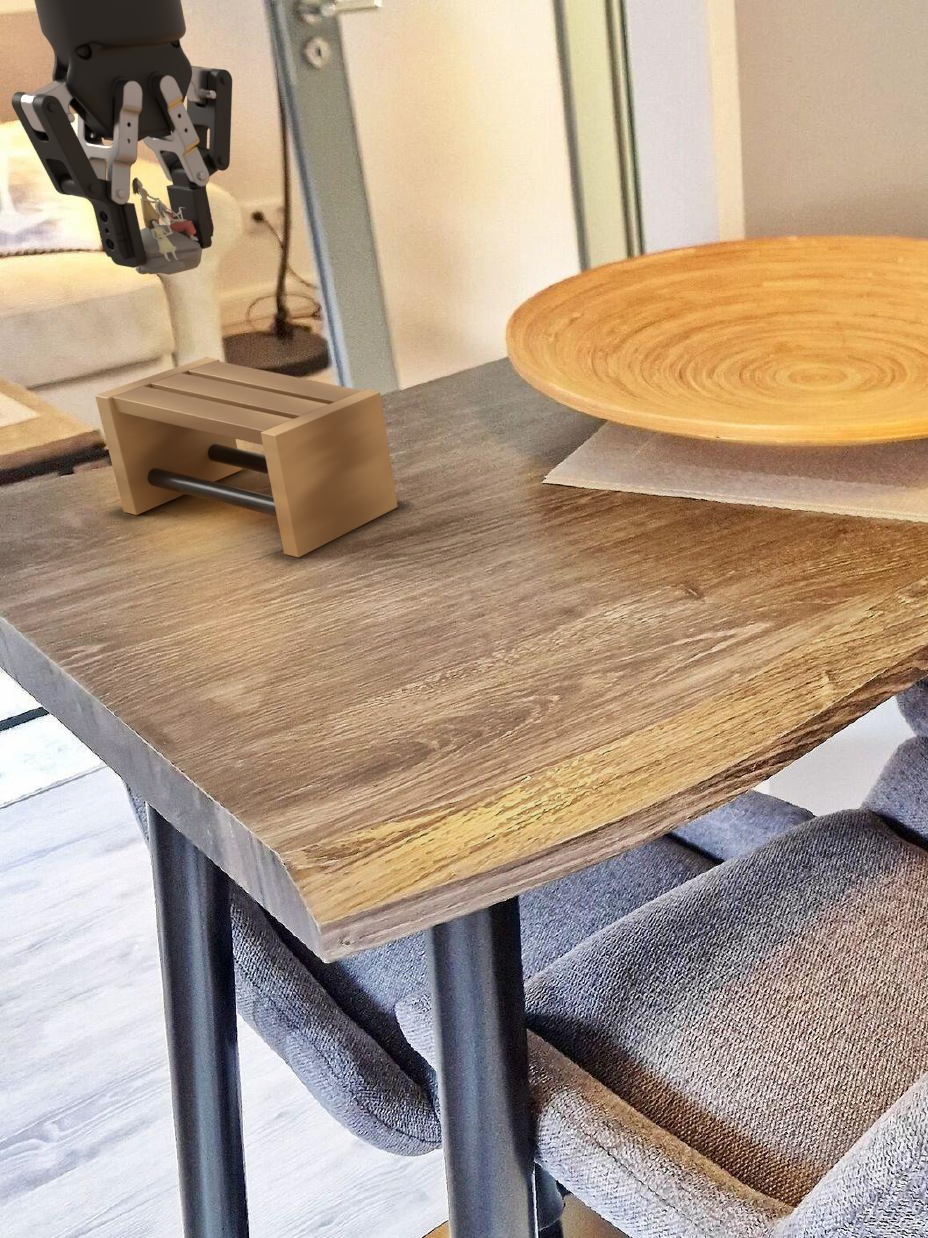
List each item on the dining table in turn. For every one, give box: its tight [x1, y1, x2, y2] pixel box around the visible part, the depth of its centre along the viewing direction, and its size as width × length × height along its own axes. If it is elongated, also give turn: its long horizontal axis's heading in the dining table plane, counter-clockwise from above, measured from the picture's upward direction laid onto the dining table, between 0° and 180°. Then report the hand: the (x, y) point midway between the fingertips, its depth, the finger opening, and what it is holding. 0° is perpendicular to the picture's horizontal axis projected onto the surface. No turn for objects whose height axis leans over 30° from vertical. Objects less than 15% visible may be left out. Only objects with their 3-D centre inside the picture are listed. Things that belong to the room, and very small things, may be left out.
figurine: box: [130, 177, 203, 276], centre depth 91 cm, size 5×4×6 cm
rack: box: [94, 356, 398, 558], centre depth 97 cm, size 9×15×8 cm, turn 65°
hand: (163, 254), depth 92 cm, fingers closed on figurine, 4 cm apart
